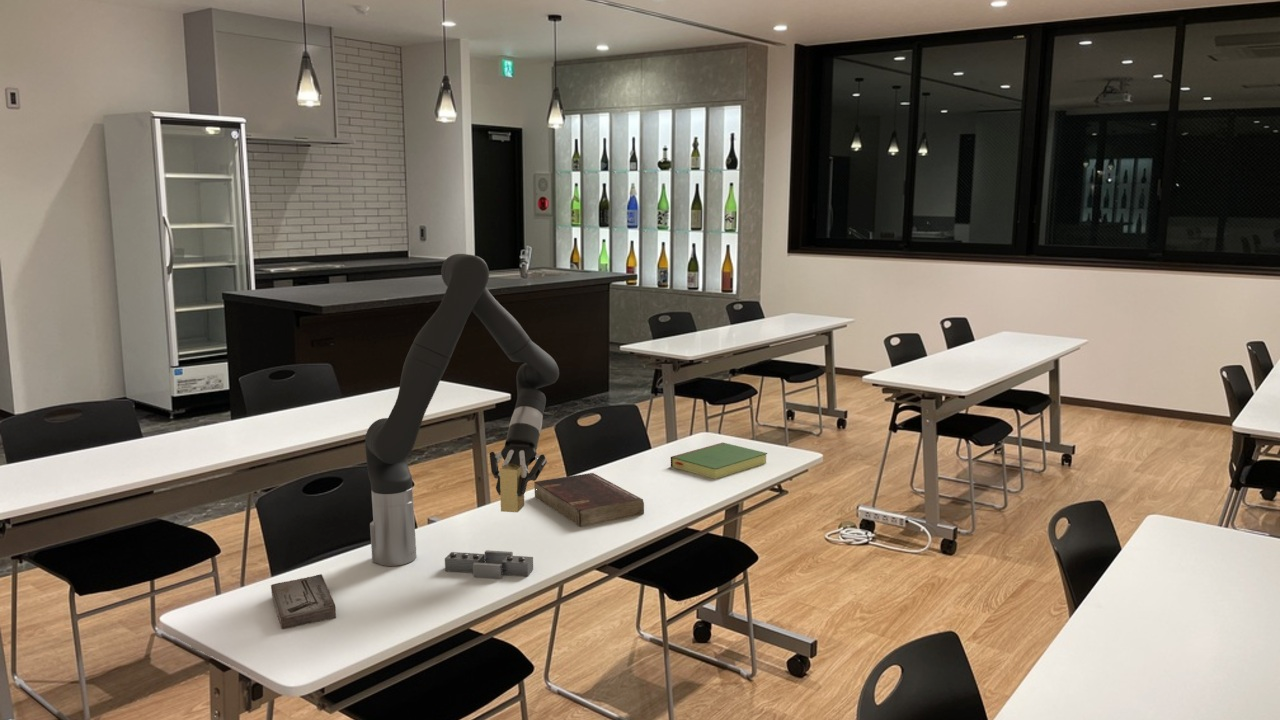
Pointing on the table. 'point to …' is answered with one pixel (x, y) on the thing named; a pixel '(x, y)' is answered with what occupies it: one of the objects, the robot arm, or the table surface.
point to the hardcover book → (718, 460)
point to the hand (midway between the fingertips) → (509, 494)
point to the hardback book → (588, 499)
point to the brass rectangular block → (510, 488)
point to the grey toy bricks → (489, 564)
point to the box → (303, 601)
